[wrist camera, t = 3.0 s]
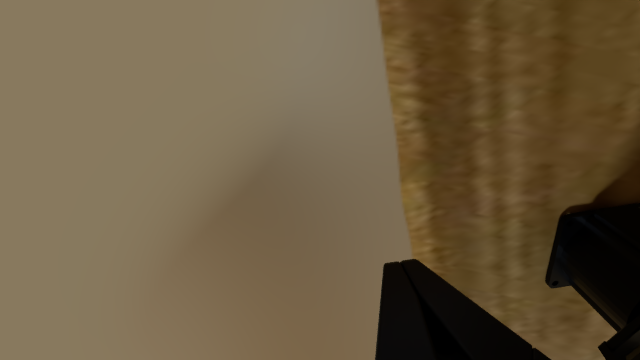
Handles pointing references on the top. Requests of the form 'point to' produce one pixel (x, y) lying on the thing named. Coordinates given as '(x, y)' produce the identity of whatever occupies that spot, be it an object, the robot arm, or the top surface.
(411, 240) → the top surface
